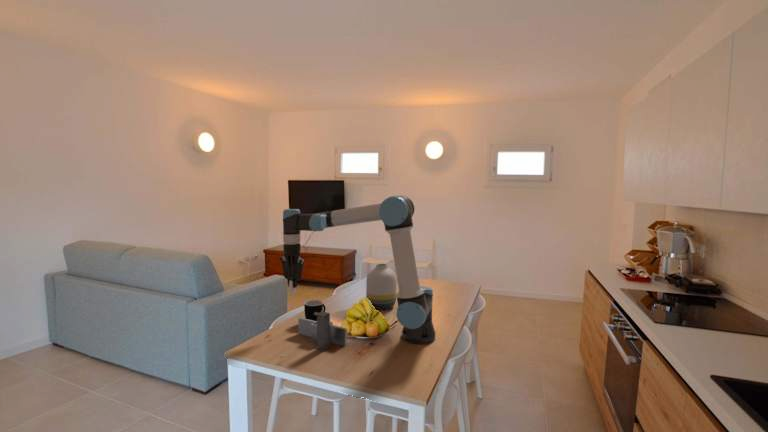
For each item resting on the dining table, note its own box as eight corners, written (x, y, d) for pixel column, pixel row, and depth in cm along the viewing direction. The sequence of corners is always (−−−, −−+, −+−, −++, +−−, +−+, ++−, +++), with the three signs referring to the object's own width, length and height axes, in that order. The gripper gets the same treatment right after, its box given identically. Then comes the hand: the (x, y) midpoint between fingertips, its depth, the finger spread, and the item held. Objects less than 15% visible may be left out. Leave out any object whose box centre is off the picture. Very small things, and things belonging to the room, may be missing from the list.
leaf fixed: (349, 343, 155) (349, 326, 154) (341, 348, 149) (341, 331, 148) (320, 335, 162) (320, 319, 161) (311, 340, 156) (311, 324, 156)
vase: (390, 313, 192) (391, 269, 190) (361, 309, 197) (362, 266, 195) (399, 303, 208) (400, 263, 206) (372, 300, 213) (373, 260, 211)
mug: (312, 328, 170) (312, 307, 169) (300, 323, 176) (300, 303, 175) (331, 320, 180) (331, 301, 179) (319, 316, 185) (319, 297, 184)
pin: (329, 348, 149) (329, 313, 148) (324, 351, 146) (324, 315, 145) (322, 346, 151) (322, 311, 150) (317, 349, 148) (317, 314, 147)
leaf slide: (332, 337, 159) (332, 322, 159) (322, 343, 153) (322, 327, 152) (304, 330, 166) (304, 315, 166) (294, 335, 160) (294, 320, 160)
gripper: (308, 243, 162) (309, 294, 164) (286, 241, 168) (287, 290, 170) (297, 245, 156) (298, 298, 157) (275, 243, 162) (276, 294, 163)
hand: (292, 294), depth 164 cm, fingers closed
